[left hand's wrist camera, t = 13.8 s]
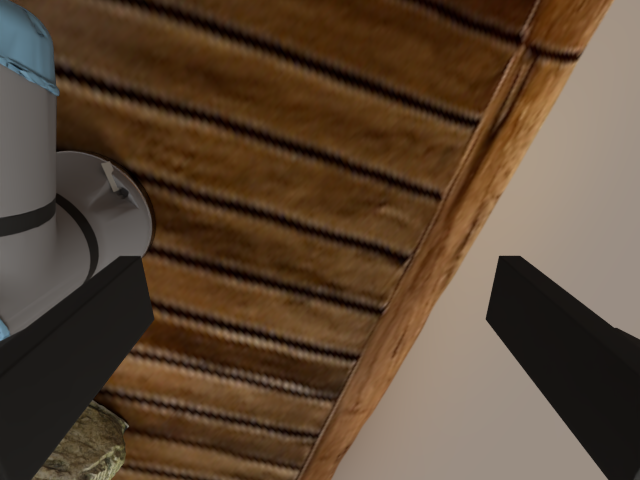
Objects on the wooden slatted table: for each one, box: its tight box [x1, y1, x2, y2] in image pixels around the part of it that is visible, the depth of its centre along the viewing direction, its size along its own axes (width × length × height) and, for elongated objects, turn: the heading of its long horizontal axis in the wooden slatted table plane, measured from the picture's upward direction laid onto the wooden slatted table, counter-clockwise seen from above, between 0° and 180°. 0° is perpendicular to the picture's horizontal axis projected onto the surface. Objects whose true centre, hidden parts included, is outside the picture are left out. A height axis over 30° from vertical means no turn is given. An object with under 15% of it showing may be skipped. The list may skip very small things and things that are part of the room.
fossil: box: [32, 400, 129, 480], centre depth 46 cm, size 9×18×15 cm, turn 65°
